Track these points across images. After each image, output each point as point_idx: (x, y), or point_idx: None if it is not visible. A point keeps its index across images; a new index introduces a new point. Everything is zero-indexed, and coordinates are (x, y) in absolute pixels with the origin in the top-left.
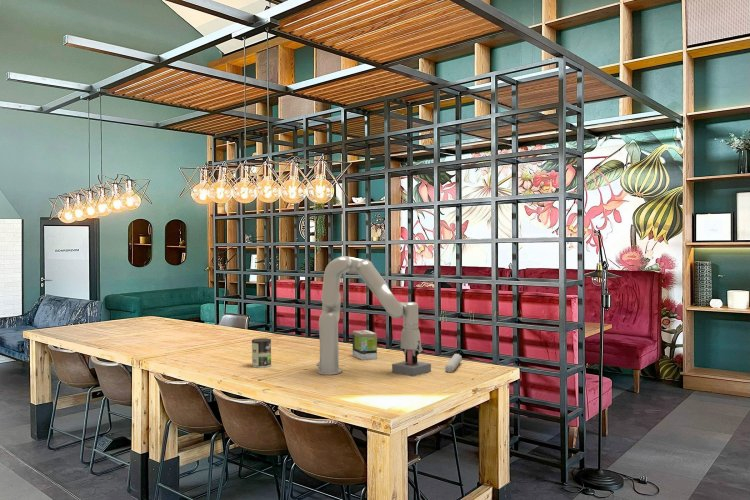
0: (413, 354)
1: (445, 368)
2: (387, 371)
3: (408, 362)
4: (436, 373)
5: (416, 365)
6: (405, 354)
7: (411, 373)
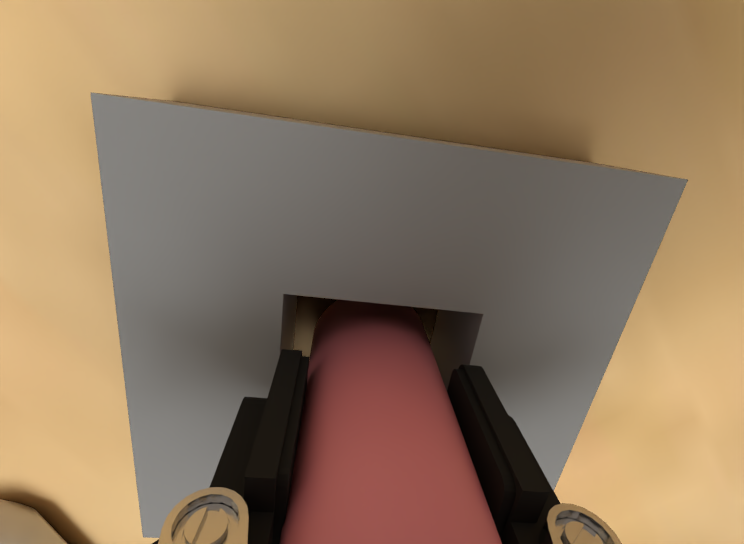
0: (235, 532)
1: (15, 537)
2: (670, 165)
3: (397, 350)
4: (65, 405)
5: (223, 338)
6: (560, 519)
7: (198, 105)
